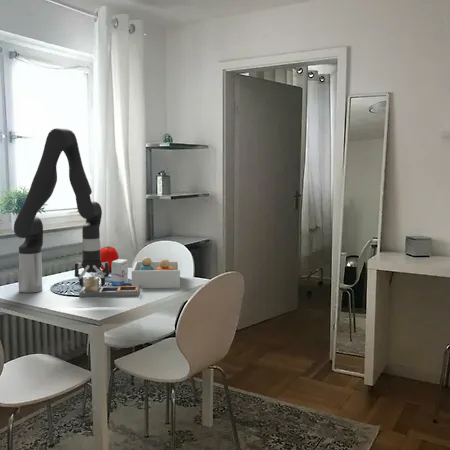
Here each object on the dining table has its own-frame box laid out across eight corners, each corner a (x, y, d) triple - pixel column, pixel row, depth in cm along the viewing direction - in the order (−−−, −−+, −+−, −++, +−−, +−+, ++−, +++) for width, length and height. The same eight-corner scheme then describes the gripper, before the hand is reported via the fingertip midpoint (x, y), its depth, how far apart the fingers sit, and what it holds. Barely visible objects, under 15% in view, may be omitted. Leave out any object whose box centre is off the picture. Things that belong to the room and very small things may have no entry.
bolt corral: (131, 288, 232) (131, 271, 231) (135, 277, 255) (135, 261, 254) (180, 287, 234) (180, 270, 233) (179, 276, 257) (179, 261, 256)
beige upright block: (85, 295, 214) (85, 278, 213) (87, 292, 219) (87, 276, 218) (97, 295, 215) (97, 278, 214) (99, 292, 220) (98, 275, 219)
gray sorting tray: (79, 299, 212) (79, 292, 211) (83, 293, 222) (83, 286, 221) (137, 298, 214) (137, 291, 214) (139, 292, 224) (139, 285, 224)
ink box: (121, 287, 233) (120, 262, 232) (111, 287, 234) (110, 261, 233) (128, 283, 241) (128, 259, 240) (118, 283, 242) (118, 258, 241)
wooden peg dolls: (182, 279, 252) (182, 254, 250) (169, 287, 235) (169, 260, 234) (149, 277, 256) (148, 252, 255) (133, 284, 240) (133, 258, 238)
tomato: (121, 268, 278) (120, 244, 276) (116, 272, 265) (116, 247, 264) (99, 268, 277) (99, 244, 276) (94, 272, 265) (93, 247, 264)
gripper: (72, 250, 210) (73, 288, 212) (107, 250, 212) (108, 288, 213) (75, 247, 218) (77, 284, 220) (109, 247, 219) (110, 284, 221)
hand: (92, 286), depth 217 cm, fingers open, 8 cm apart
